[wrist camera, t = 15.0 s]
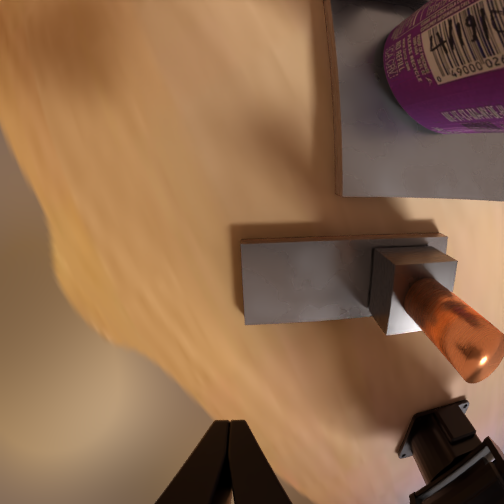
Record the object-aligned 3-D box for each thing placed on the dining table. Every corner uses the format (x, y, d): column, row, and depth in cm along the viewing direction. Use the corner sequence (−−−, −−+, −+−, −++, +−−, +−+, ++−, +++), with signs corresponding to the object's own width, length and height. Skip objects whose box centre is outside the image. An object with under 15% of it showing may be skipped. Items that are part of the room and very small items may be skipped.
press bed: (505, 199, 18) (595, 227, 9) (335, 193, 18) (406, 227, 9) (491, 24, 14) (568, -4, 5) (320, -21, 14) (360, -107, 5)
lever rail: (430, 302, 20) (437, 308, 19) (245, 317, 20) (244, 325, 19) (439, 233, 19) (447, 236, 18) (241, 239, 19) (240, 244, 18)
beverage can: (452, 157, 16) (622, 185, 4) (357, 85, 15) (515, 4, 3) (486, 73, 14) (628, 51, 2) (402, 3, 13) (523, -89, 1)
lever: (423, 305, 19) (501, 385, 10) (368, 311, 19) (434, 407, 10) (431, 245, 18) (529, 306, 9) (374, 248, 18) (462, 321, 9)
